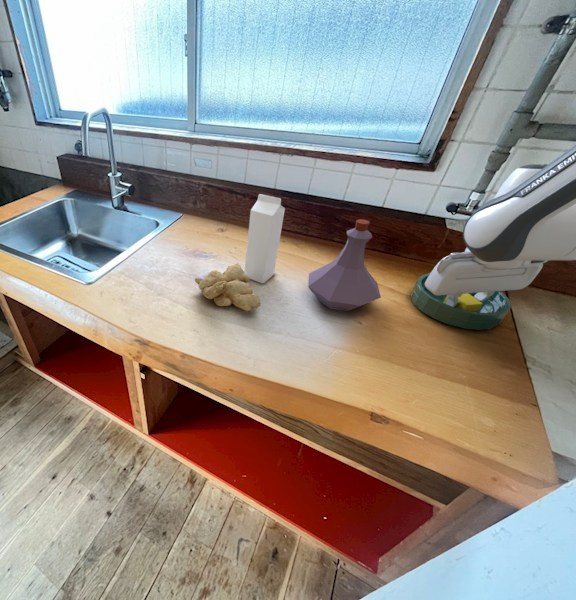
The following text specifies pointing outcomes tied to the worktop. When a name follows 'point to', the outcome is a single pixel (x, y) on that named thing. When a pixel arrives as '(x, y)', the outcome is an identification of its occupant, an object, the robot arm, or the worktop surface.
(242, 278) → the ginger root
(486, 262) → the robot arm
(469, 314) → the bowl
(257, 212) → the milk
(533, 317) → the worktop surface
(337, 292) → the flask
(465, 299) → the yellow block
